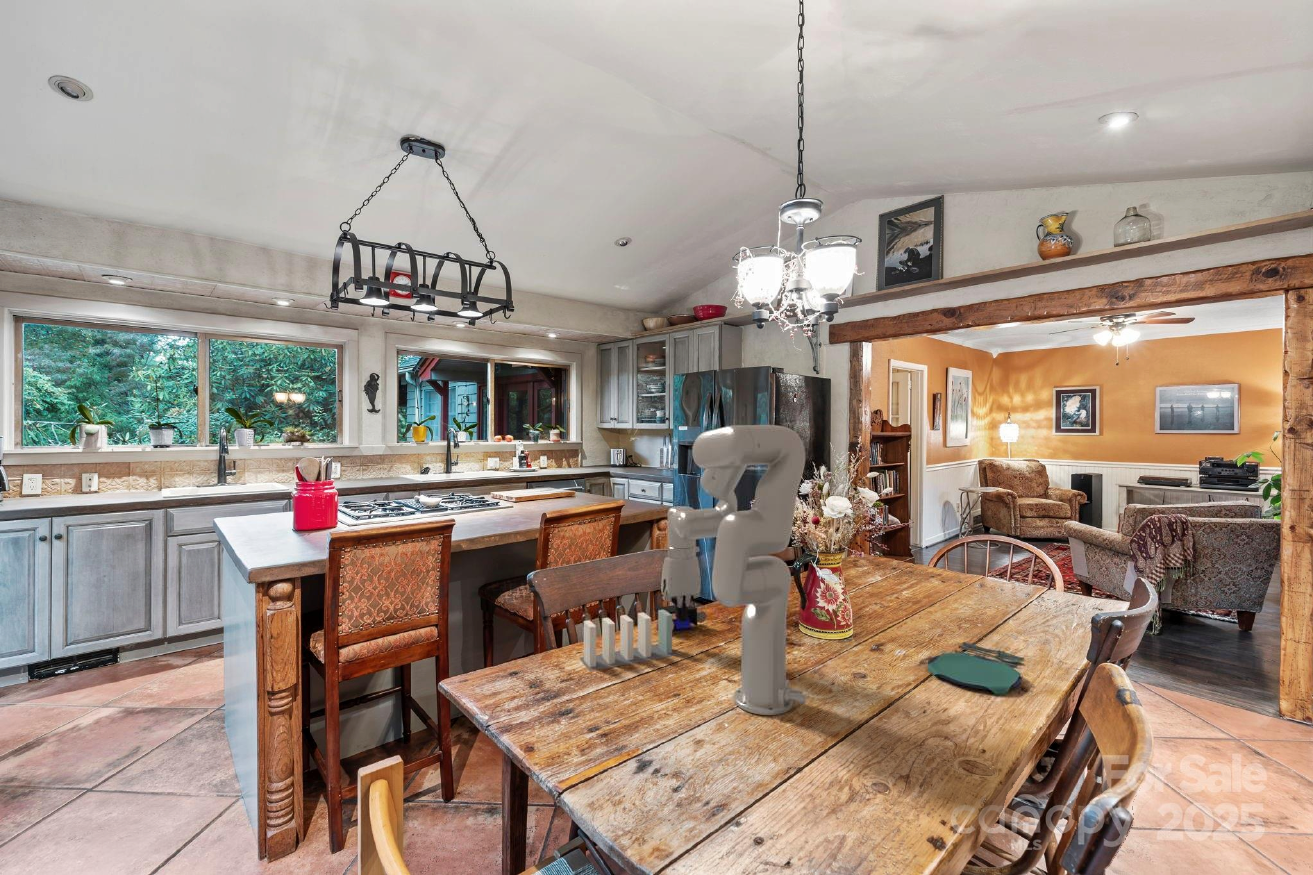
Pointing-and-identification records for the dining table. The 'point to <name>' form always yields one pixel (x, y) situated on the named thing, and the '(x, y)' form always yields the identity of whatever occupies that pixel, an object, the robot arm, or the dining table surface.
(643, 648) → the ivory tile
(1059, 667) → the dining table surface
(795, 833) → the dining table surface
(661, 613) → the tile
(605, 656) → the ivory tile
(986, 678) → the cutlery set
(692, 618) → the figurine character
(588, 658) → the ivory tile
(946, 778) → the dining table surface
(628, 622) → the ivory tile
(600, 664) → the mat
